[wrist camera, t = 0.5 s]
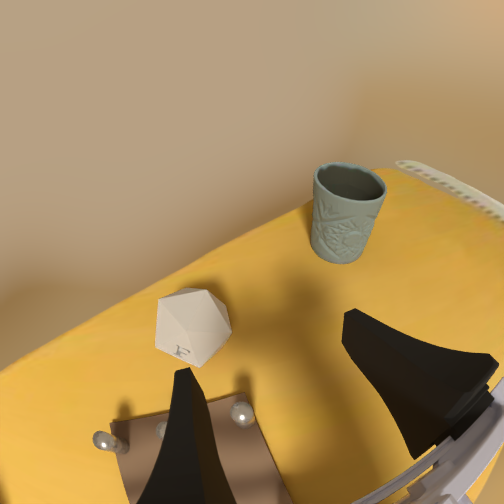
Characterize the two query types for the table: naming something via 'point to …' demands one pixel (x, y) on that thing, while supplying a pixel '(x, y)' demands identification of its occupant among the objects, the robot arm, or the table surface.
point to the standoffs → (111, 443)
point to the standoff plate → (229, 450)
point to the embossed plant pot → (344, 210)
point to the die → (192, 325)
